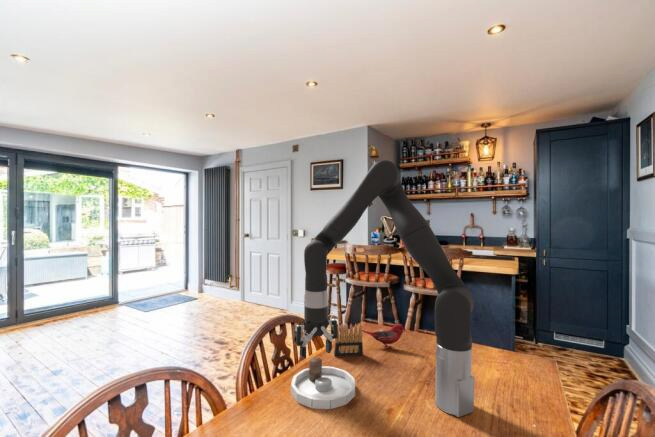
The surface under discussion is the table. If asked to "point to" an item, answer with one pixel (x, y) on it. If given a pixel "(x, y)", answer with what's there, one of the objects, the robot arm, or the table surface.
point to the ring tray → (323, 388)
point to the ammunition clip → (349, 342)
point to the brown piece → (315, 369)
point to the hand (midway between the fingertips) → (316, 354)
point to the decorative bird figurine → (388, 334)
